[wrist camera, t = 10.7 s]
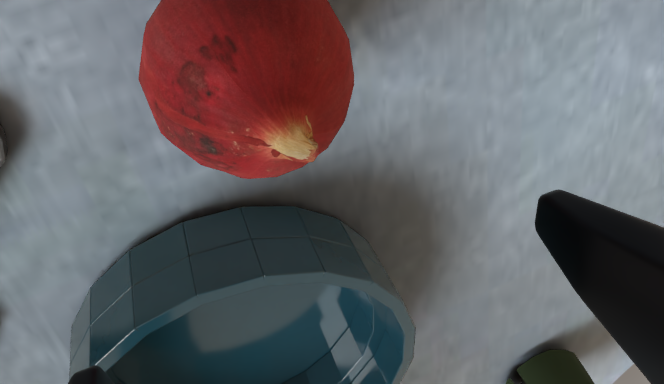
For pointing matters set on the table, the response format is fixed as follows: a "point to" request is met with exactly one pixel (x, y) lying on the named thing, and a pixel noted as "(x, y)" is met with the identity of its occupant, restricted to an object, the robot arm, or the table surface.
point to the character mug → (553, 369)
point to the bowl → (247, 306)
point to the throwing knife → (2, 146)
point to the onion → (247, 81)
